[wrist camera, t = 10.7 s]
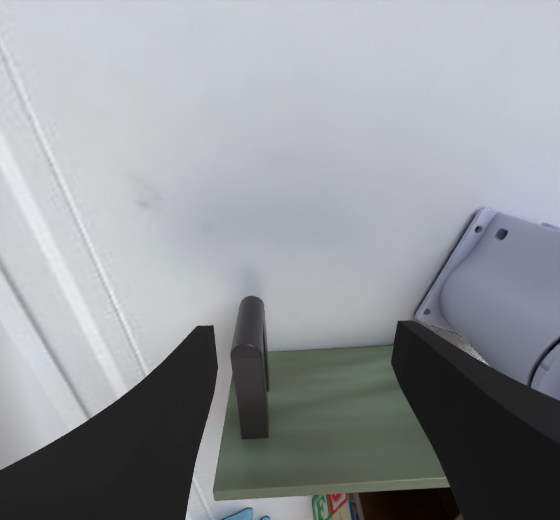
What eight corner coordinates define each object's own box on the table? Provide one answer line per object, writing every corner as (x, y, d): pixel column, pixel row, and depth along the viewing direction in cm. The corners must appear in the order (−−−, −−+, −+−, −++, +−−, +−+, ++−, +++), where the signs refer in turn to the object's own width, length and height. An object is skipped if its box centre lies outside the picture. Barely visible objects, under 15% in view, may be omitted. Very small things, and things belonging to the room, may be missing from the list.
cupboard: (345, 459, 30) (381, 617, 20) (416, 348, 25) (512, 485, 15) (430, 478, 31) (503, 633, 21) (513, 377, 26) (659, 519, 16)
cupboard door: (226, 279, 22) (190, 388, 12) (422, 269, 22) (541, 368, 12) (236, 361, 24) (214, 501, 15) (410, 351, 25) (498, 485, 15)
